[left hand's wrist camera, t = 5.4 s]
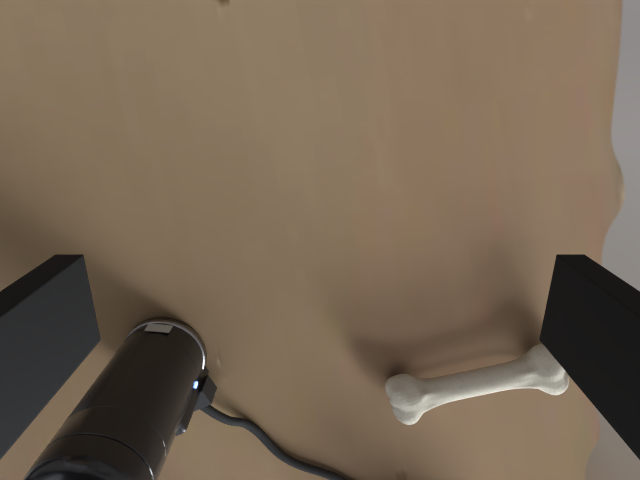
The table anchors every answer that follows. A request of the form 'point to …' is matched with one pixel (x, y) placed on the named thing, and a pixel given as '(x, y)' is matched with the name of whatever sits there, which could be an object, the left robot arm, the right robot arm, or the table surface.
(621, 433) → the left robot arm
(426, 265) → the table surface
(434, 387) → the dog toy
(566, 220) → the table surface
